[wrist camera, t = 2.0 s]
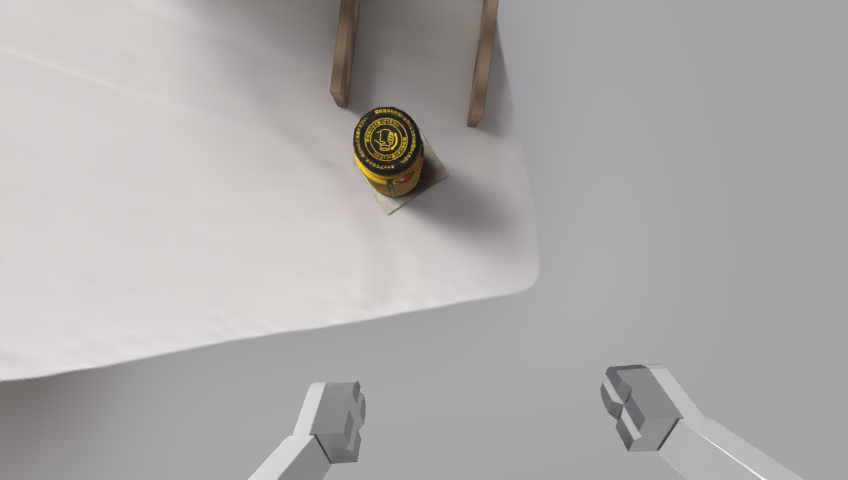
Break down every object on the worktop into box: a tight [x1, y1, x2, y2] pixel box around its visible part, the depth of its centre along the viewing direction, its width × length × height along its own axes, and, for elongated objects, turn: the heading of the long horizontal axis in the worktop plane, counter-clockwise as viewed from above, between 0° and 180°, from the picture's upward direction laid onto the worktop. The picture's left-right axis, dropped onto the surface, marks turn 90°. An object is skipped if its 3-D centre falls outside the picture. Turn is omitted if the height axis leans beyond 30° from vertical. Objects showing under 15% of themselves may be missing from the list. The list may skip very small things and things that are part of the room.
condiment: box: [353, 107, 448, 214], centre depth 29 cm, size 7×8×12 cm
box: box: [330, 0, 499, 127], centre depth 32 cm, size 17×16×4 cm
